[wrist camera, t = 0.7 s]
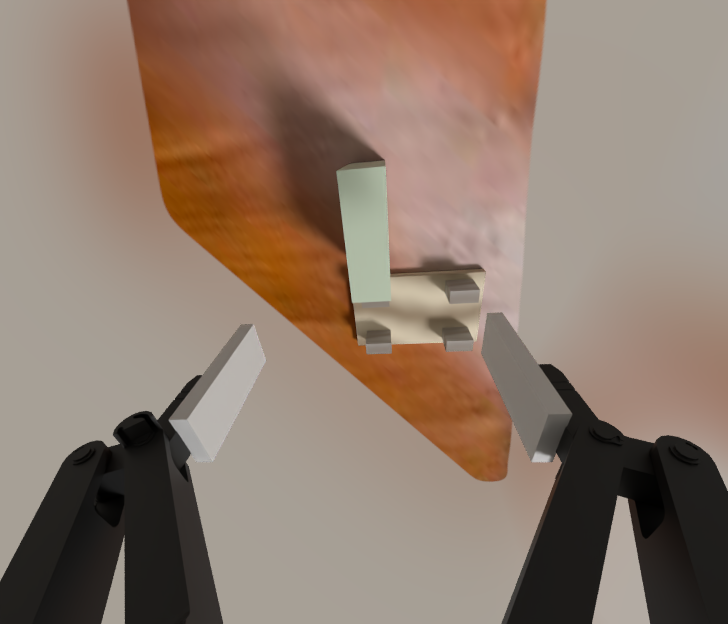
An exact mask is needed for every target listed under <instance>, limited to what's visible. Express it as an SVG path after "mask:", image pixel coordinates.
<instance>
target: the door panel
mask: <svg viewBox="0 0 728 624" xmlns="http://www.w3.org/2000/svg"><path fill="white" fill-rule="evenodd" d="M336 173H337V181H338V189H339V198H340V206H341V214H342V223H343V231H344V239H345V248H346V256H347V264H348V273H349V281H350V289H351V298H352V303H360V302H381V301H391V283H390V260H389V236H388V213H387V189H386V166H385V160H380V161H370V162H359V163H350V164H348V165H346V166H344V167H342V168H340V169H339V170H337V171H336Z"/></svg>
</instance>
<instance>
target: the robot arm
mask: <svg viewBox="0 0 728 624" xmlns="http://www.w3.org/2000/svg"><path fill="white" fill-rule="evenodd" d="M481 354H482V356H483V358H484V360H485V362H486V365H487V367H488V369H489V371H490V373H491V375H492V378H493V380H494V382H495V384H496V386H497V388H498V391H499V393H500V395H501V397H502V399H503V401H504V404H505V406H506V408H507V410H508V412H509V414H510V417H511V419H512V421H513V423H514V425H515V427H516V430H517V431H518V434H519V436H520V438H521V440H522V443H523V445H524V447H525V449H526V451H527V453H528V456H529V458H530V460H531V462H553V459H554V457H555V454H556V453H557V455H558V457H559V458H560V460H561V462H562V464H561V466H560V469H559V471H558V473H557V475H556V478H555V479H556V480H555V483H554V485H553V488H552V490H551V493H550V496H549V498H548V501H547V504H546V506H545V509H544V512H543V514H542V517H541V520H540V523H539V525H538V528H537V530H536V533H535V536H534V539H533V541H532V544H531V547H530V549H529V552H528V554H527V557H526V560H525V563H524V565H523V568H522V570H521V573H520V576H519V578H518V581H517V584H516V587H515V589H514V592H513V594H512V597H511V600H510V603H509V605H508V608H507V610H506V613H505V616H504V619H503V621H502V624H592V620H593V615H594V610H595V605H596V600H597V595H598V590H599V585H600V580H601V575H602V570H603V565H604V560H605V555H606V550H607V545H608V540H609V535H610V530H611V525H612V520H613V515H614V510H615V505H616V500H617V495H618V496H622V497H625V498H628V503H629V509H630V514H631V519H632V525H633V531H634V536H635V542H636V547H637V553H638V559H639V564H640V570H641V575H642V581H643V586H644V592H645V597H646V603H647V608H648V613H649V619H650V624H728V491H727V488H726V486H725V484H724V482H723V480H722V478H721V475H720V473H719V471H718V469H717V466H716V464H715V462H714V461H713V460H712V458H711V457H710V455H709V454H707V453H706V452H705V451H704V450H703V449H701V448H700V447H698V446H697V445H695V444H693V443H691V442H690V441H687V440H685V439H682V438H679V437H675V436H669V435H667V436H661V437H659V438H658V439H657V440H656V442H655V443H651V442H646V441H642V440H638V439H634V438H629V437H626V436H624V435H623V434H622V433H621V432H620V431H619V430H618V429H617V428H615V427H614V426H612V425H610V424H609V423H607V422H604V421H601V420H599V419H598V418H597V417H596V416H595V414H594V413H593V412H592V411H591V409H590V408H589V407H588V405H587V404H586V403H585V401H584V400H583V399H582V398H581V396H580V395H579V394H578V393H577V391H575V389H574V387H573V386H572V385H571V383H569V381H568V379H567V378H566V377H565V376H564V374H563V373H562V372H561V371H559V370H558V369H557V368H555V367H554V366H553V365H551V364H540V365H538V364H537V362H536V361H535V359H534V358H533V356H532V355H531V354H530V353H529V351H528V349H527V348H526V346H525V345H524V343H523V342H522V340H521V339H520V338H519V336H518V335H517V333H516V332H515V330H514V329H513V327H512V326H511V325H510V323H509V322H508V320H507V319H506V317H505V316H504V314H503V313H502V312H501V313H487V319H486V325H485V332H484V338H483V345H482V351H481ZM265 362H266V359H265V356H264V353H263V350H262V347H261V344H260V341H259V338H258V336H257V333H256V329H255V327H254V324H245V325H240V327H239V328H238V330H237V331H236V332H235V334H234V335H233V336H232V337H231V339H230V340H229V341H228V342H227V344H226V345H225V346H224V348H223V349H222V350H221V352H220V353H219V354H218V356H217V357H216V358H215V360H214V361H213V362H212V364H211V365H210V366H209V367H208V369H207V370H206V371H205V373H204V374H203V375H197V376H196V377H195V378H193V379H192V380H191V381H189V382H188V383H187V384H186V386H185V387H184V388H183V389H182V391H181V393H179V394H178V395H177V397H176V398H175V400H173V402H172V403H171V404H170V405H169V407H168V408H167V409H166V410H165V412H164V413H163V414H162V415H161V417H160V418H159V419H158V420H156V418H155V417H154V415H153V414H152V412H149V411H143V412H139V413H136V414H133V415H131V416H129V417H128V418H126V419H125V420H123V421H122V422H121V423H120V424H119V425H118V426H117V427H116V429H115V430H114V433H113V436H114V437H115V438H116V439H117V441H118V442H119V443H120V444H118V445H115V446H111V447H107V446H106V445H105V444H104V443H103V442H102V441H93V442H89V443H87V444H85V445H82V446H81V447H79V448H77V449H76V450H75V451H73V452H72V453H71V454H70V455H69V456H68V457H67V458H66V459H65V461H64V462H63V463H62V465H61V467H60V469H59V471H58V473H57V475H56V476H55V478H54V480H53V482H52V484H51V486H50V488H49V490H48V492H47V494H46V496H45V497H44V499H43V501H42V503H41V505H40V507H39V509H38V511H37V513H36V515H35V517H34V518H33V520H32V522H31V524H30V526H29V528H28V530H27V532H26V533H25V536H24V537H23V539H22V541H21V543H20V545H19V547H18V549H17V551H16V553H15V554H14V556H13V558H12V560H11V562H10V564H9V566H8V568H7V570H6V571H5V573H4V575H3V577H2V579H1V581H0V624H101V622H102V618H103V614H104V610H105V607H106V603H107V599H108V595H109V591H110V588H111V584H112V580H113V576H114V572H115V569H116V565H117V561H118V557H119V553H120V550H121V545H122V542H123V538H124V534H125V624H223V620H222V616H221V612H220V607H219V602H218V598H217V593H216V588H215V584H214V580H213V575H212V570H211V566H210V561H209V557H208V552H207V548H206V543H205V538H204V534H203V529H202V525H201V520H200V516H199V511H198V507H197V502H196V497H195V493H194V488H193V484H192V479H191V475H190V470H189V466H188V465H187V463H186V460H187V459H188V458H189V456H190V454H191V455H192V456H193V458H194V459H195V461H196V462H213V461H214V459H215V457H216V455H217V453H218V451H219V449H220V447H221V446H222V443H223V442H224V440H225V438H226V436H227V434H228V432H229V430H230V428H231V427H232V425H233V423H234V421H235V418H236V417H237V415H238V413H239V411H240V409H241V407H242V405H243V404H244V402H245V400H246V398H247V396H248V394H249V392H250V390H251V388H252V387H253V385H254V383H255V381H256V379H257V377H258V375H259V373H260V371H261V369H262V368H263V366H264V364H265Z"/></svg>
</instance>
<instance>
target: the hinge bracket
mask: <svg viewBox="0 0 728 624" xmlns="http://www.w3.org/2000/svg"><path fill="white" fill-rule="evenodd" d="M485 274H486V271H485V270H484V269H470V270H452V271H435V272H417V273H400V274H390V283H391V301H381V302H360V303H353V305H354V314H355V322H356V331H357V339H358V345H366V352H367V354H387V353H392V349H391V344H415V343H444V346H445V350H446V352H449V351H472V350H473V342H474V341H477V333H478V326H479V319H480V311H481V304H482V297H483V289H484V282H485Z"/></svg>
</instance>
